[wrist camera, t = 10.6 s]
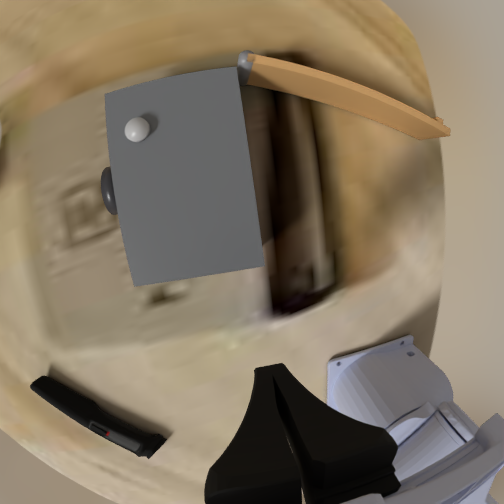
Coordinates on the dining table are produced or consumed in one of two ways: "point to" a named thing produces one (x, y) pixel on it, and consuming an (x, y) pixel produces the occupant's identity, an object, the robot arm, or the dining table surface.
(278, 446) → the robot arm
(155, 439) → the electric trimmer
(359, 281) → the dining table surface
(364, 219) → the dining table surface
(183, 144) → the camera body
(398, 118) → the side door
